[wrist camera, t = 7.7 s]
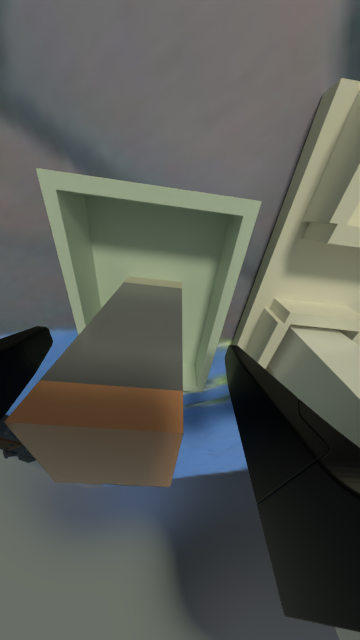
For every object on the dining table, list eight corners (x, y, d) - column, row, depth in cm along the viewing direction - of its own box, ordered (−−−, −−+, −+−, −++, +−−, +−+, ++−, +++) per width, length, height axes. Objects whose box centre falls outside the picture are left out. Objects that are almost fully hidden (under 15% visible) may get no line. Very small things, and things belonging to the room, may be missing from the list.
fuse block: (309, 360, 16) (333, 387, 14) (228, 352, 16) (237, 378, 13) (497, 104, 8) (656, 49, 5) (331, 71, 7) (414, -8, 5)
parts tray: (199, 365, 17) (202, 392, 14) (105, 356, 16) (90, 383, 14) (240, 204, 10) (261, 201, 7) (76, 181, 9) (35, 167, 7)
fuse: (301, 355, 14) (447, 527, 7) (260, 351, 14) (361, 524, 6) (325, 320, 13) (571, 502, 5) (278, 315, 12) (454, 496, 4)
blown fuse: (176, 325, 13) (170, 487, 5) (131, 321, 13) (55, 482, 5) (182, 281, 12) (183, 433, 4) (128, 276, 11) (4, 422, 3)
